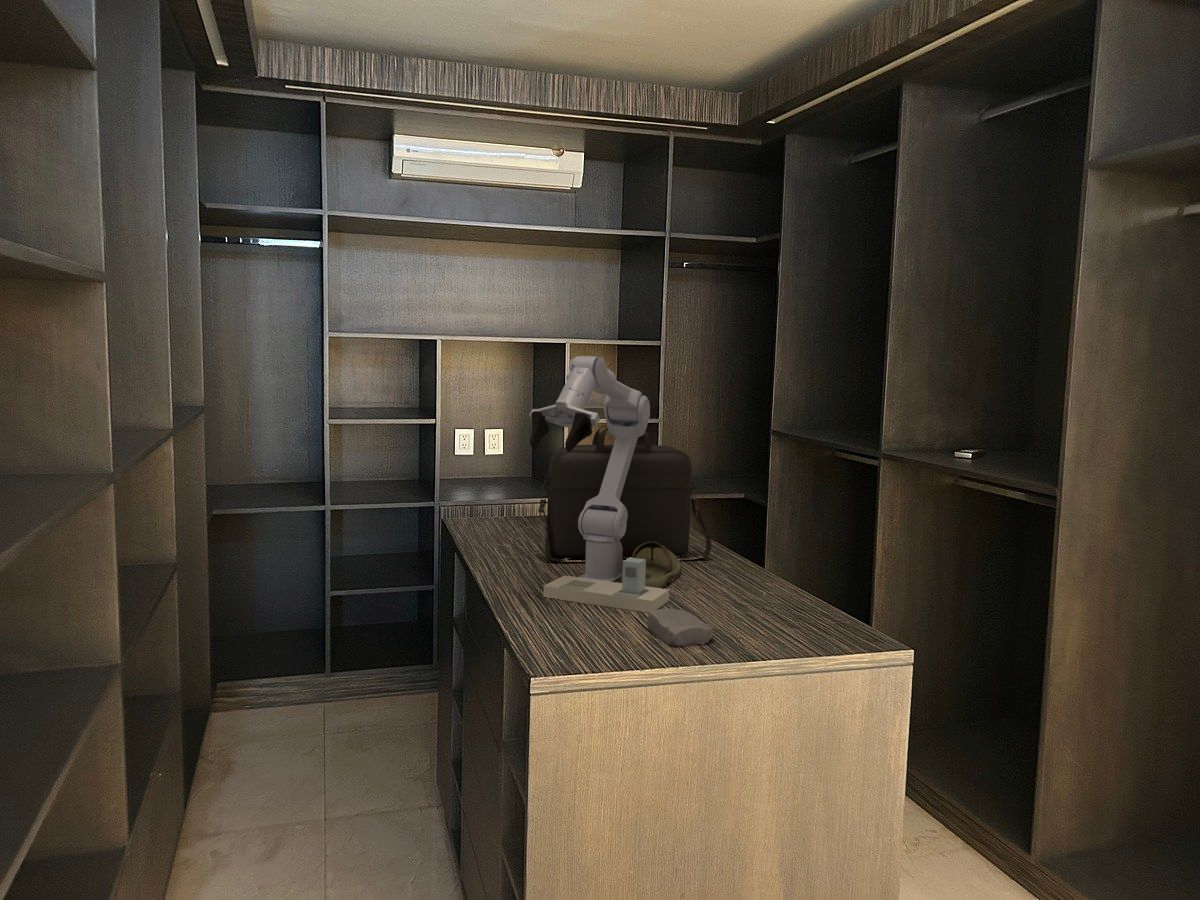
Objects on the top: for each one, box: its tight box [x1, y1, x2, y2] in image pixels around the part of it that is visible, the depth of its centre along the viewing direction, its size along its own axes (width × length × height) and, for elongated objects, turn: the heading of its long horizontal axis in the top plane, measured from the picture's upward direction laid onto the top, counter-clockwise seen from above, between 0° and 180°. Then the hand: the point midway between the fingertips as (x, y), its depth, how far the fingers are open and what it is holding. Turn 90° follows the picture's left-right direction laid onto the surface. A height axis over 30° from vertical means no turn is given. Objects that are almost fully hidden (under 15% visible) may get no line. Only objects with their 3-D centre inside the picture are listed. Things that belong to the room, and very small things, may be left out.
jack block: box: [543, 575, 670, 614], centre depth 193 cm, size 10×24×3 cm, turn 67°
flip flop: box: [620, 541, 682, 589], centre depth 211 cm, size 29×12×8 cm, turn 164°
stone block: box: [647, 608, 714, 648], centre depth 170 cm, size 12×5×10 cm
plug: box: [622, 558, 646, 595], centre depth 190 cm, size 4×4×9 cm
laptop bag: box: [537, 424, 712, 563], centre depth 232 cm, size 43×13×33 cm, turn 101°
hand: (550, 446), depth 182 cm, fingers open, 7 cm apart
